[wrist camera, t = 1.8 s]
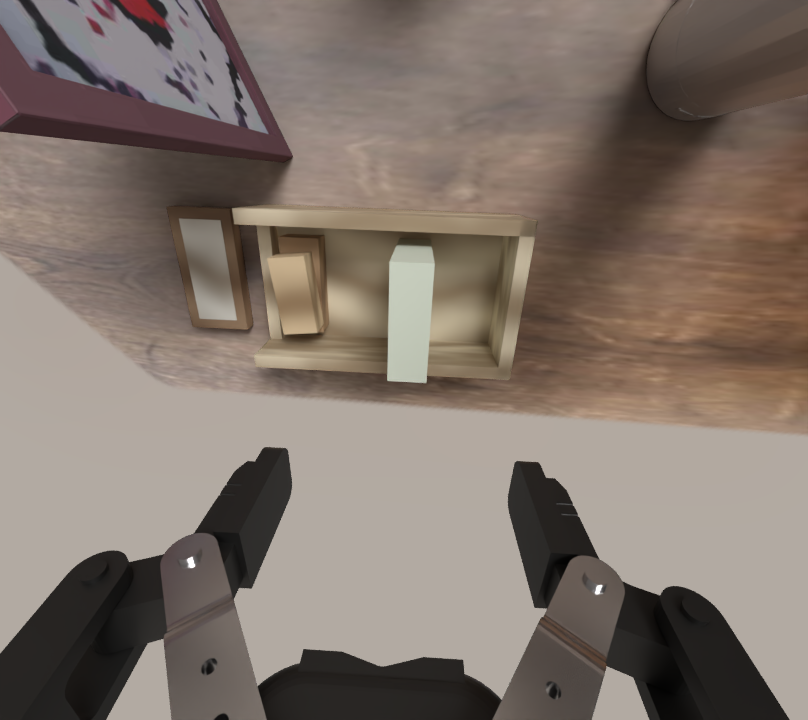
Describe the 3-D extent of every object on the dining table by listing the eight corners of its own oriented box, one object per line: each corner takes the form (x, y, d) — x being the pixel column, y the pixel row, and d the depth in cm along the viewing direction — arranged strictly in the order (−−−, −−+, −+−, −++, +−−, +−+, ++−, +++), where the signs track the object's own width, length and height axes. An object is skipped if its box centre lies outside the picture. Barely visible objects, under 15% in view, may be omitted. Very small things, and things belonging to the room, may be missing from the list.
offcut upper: (277, 253, 34) (267, 258, 32) (311, 251, 34) (303, 256, 32) (292, 325, 37) (283, 334, 35) (323, 323, 37) (317, 332, 35)
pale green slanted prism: (399, 238, 36) (389, 261, 25) (430, 239, 35) (434, 263, 25) (396, 327, 39) (387, 380, 28) (425, 328, 39) (426, 382, 28)
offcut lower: (287, 233, 36) (278, 236, 33) (324, 235, 36) (318, 238, 33) (295, 322, 40) (288, 330, 37) (329, 323, 40) (323, 332, 37)
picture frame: (293, 157, 34) (40, 100, 11) (207, 203, 36) (-154, 232, 13) (180, -75, 28) (-867, -1207, 5) (83, -4, 30) (-978, -598, 7)
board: (175, 205, 36) (165, 206, 35) (236, 208, 36) (228, 209, 35) (200, 322, 41) (192, 327, 40) (253, 324, 41) (247, 329, 40)
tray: (266, 204, 36) (231, 208, 29) (516, 214, 35) (537, 220, 29) (281, 338, 42) (255, 366, 35) (495, 349, 41) (509, 380, 35)
